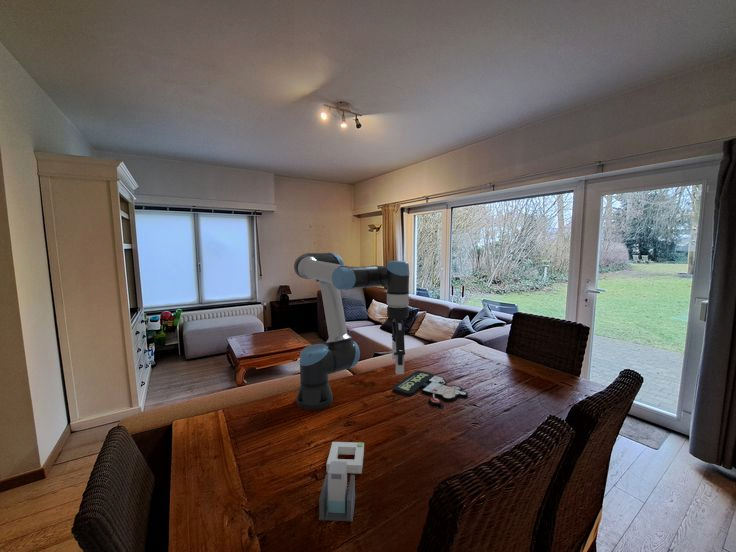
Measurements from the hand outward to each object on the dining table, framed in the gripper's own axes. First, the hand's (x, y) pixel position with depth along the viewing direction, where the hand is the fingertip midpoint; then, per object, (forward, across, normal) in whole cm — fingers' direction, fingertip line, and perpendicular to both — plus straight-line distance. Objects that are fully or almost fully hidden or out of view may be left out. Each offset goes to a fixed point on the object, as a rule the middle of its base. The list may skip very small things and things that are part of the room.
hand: (397, 366), depth 103 cm
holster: (+23, -32, +18) cm, 44 cm away
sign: (+24, +31, -20) cm, 44 cm away
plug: (+23, -32, +18) cm, 43 cm away
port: (+23, -16, +17) cm, 33 cm away
